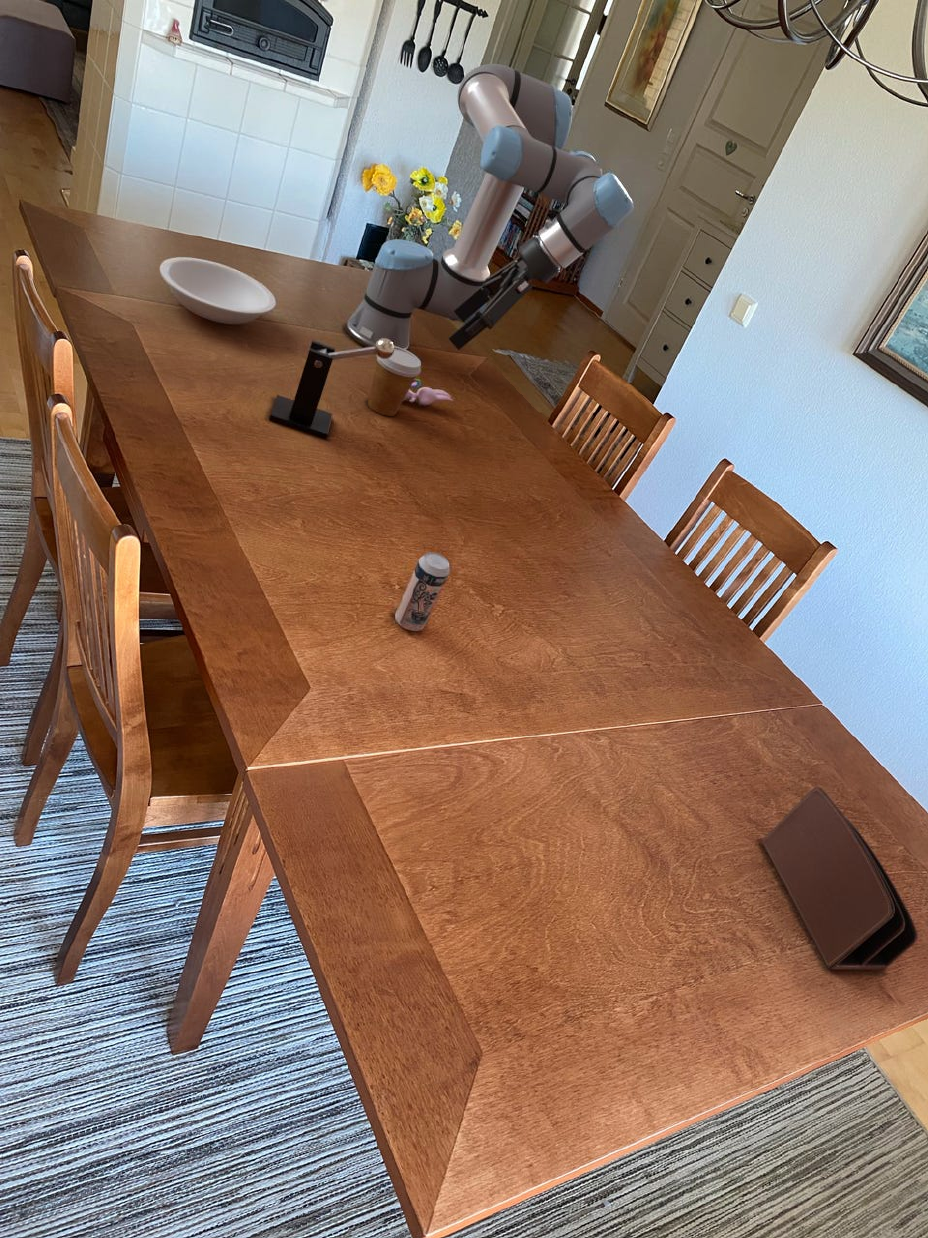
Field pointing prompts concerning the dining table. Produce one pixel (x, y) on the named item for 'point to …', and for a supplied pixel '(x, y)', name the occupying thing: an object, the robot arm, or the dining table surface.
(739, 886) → the dining table surface
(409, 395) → the rabbit figure
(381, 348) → the ball-tipped metal rod
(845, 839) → the letter holder
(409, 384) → the disposable coffee cup
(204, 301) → the soup bowl
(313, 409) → the bracket
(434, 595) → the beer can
